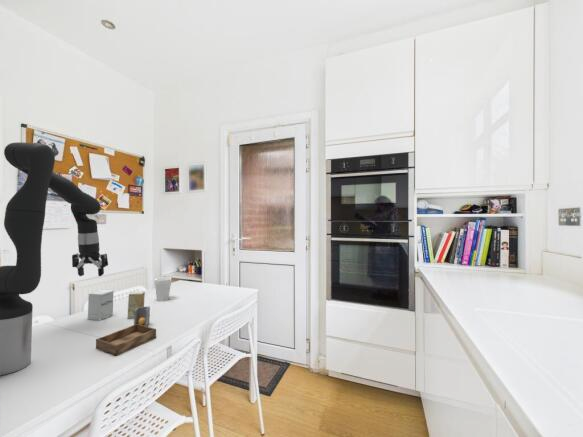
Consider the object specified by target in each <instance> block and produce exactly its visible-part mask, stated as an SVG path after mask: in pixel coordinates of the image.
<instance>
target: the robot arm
mask: <svg viewBox="0 0 583 437" xmlns="http://www.w3.org/2000/svg"><path fill="white" fill-rule="evenodd" d="M3 155H4V158H5V159H6V161H7V162H8V163H9V164H10V165H12V167H14V168H15V169H17V170H19V171H20V172H22V173H24V174H26V175H27V176H26V179H25V181H24V183H23V185H22V186H21V187H20V189H18V190H17V191H16V193H15V194H14V195H13V196H12V197H11V198H10V199H9V200H8V203H7V204H6V207H5V212H4V220H3V226H4V230H5V232H6V234H7V235H8V237H9V238H10V240H11V242H12V243H13V245H14V247H15V250H16V262H15V265H1V266H0V376H3V375H8V374H13V373H14V372H18V371H20V370H22V369H24V368H26V367H28V366H29V365H30V364H31V362H32V342H33V340H32V338H33V336H32V335H33V334H32V333H33V309H34V308H33V303H32V302H31V301H28V300H26V299H24V298H23V297H21V295H26V294H27V295H28V294H31V293H32V292H34V291H35V290H36V289H37V288H38V286H39V284H40V282H41V277H42V243H43V242H42V240H43V231H44V224H45V217H46V207H47V206H46V205H47V198H48V194H49V193H48V192H49V189H50V190H51V191H53V192H54V193H55V194H57V195H58V196H59V197H60V198H62V199H63V201H65V202H66V203H68V204H70V210H71V214H72V216H73V218H74V220H75V223H76V225H77V246H78V253H74V254H72V255H71V257H72V258H71V262H72V263H71V265H72V268H76V269H77V275H78V276H79V277H82V276H85V270H84V266H85V265H88V264H89V265H94V266H96V267H97V274H98V275H97V276H98V277H102V276H103V275H104V273H105V269H104V268H106V267H108V266H109V260H108V254H107V253H102V254H101V253H100V240H99V237H100V236H99V232H98V223H97V220H96V219H92V218H89V216H87V215H96V214H99V212H100V211H101V208H102V207H101V204H100V202H99V201H98V199H96V198H95V197H94V196H91V195H90V194H89V193H86V192H84V191H83V190H82V189H81V188H80V187H78V186H77V185H76V184H75V183H74V182H73V181H71V180H70V179H68V178H67V177H64V176H62V175H61V174H58V173H56V172H54V167H55V159H56V158H55V153H54V150H53V149H52V148H51V146H49V145H48V144H46V143H39V142H23V141H21V142H11V143H8V144H7V145H6V146H5V148H4V151H3Z"/></svg>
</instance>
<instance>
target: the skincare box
mask: <svg viewBox="0 0 583 437" xmlns="http://www.w3.org/2000/svg"><path fill="white" fill-rule="evenodd" d="M145 295H146V291H131V292H129V293H128V302H127V304H128V305H127V320H128V319H134V311H135V310H136V309H137V308H138V307H145Z"/></svg>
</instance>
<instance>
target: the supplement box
mask: <svg viewBox="0 0 583 437" xmlns="http://www.w3.org/2000/svg"><path fill="white" fill-rule="evenodd" d="M87 300H88V301H87V302H88V303H87V320H94V321H101V320H103V319H105V318H109V317H111V316H113V314H114V290H109V289H108V290H106V289H101V290H98V291H94V292H91V293H88V299H87Z"/></svg>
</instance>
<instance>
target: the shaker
mask: <svg viewBox="0 0 583 437" xmlns="http://www.w3.org/2000/svg"><path fill="white" fill-rule="evenodd" d="M150 311H151V307H150V306H144V307H138V308H137V309H136V310H135V311H134V318H133V325H136V324H138V320H139V319H140V318H145V324H143V326H147V327H149V325H150V316H151V315H150Z"/></svg>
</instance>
